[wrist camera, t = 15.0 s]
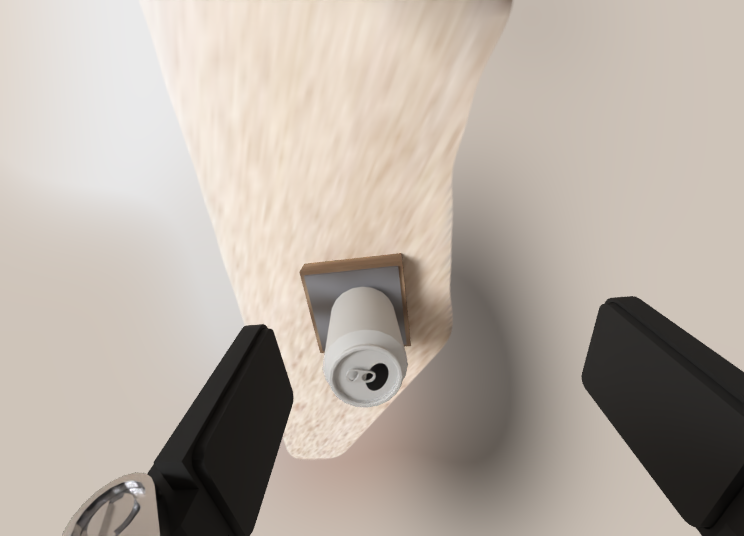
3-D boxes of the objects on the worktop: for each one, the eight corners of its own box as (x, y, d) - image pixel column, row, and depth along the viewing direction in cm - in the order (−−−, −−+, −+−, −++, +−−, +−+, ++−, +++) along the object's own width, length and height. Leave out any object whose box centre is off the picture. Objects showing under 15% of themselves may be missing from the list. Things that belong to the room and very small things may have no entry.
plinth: (305, 261, 38) (298, 272, 35) (400, 251, 37) (402, 261, 34) (324, 338, 43) (319, 354, 40) (409, 331, 42) (410, 347, 39)
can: (382, 345, 38) (394, 422, 27) (324, 331, 37) (310, 406, 26) (402, 292, 36) (424, 352, 24) (340, 276, 35) (333, 331, 23)
